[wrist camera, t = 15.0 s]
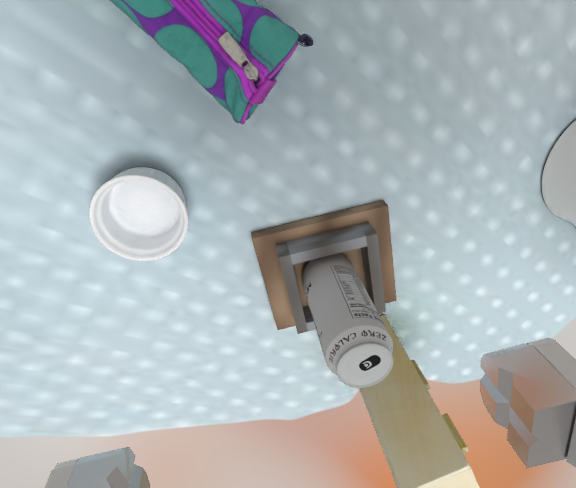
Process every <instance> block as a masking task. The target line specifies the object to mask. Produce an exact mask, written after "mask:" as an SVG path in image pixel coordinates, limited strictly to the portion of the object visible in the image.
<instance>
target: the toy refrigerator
mask: <svg viewBox="0 0 576 488" xmlns="http://www.w3.org/2000/svg"><path fill="white" fill-rule="evenodd" d="M380 317H381V319H382V321H383V323H384V325H385V327H386V329H387V331H388V332H389V334H390V336H391V338H392V341H393V352H392V356H393V366H392V369H391V371H390V373H389V374H388V375H387V376H386V377H385V378H384V379H383V380H381V381H380V382H378V383H376V384H374V385H372V386H369V387H363V388H359V389H360V392H361V394H362V397H363V399H364V402H365V405H366V407H367V410H368V412H369V415H370V417H371V420H372V423H373V425H374V428H375V431H376V434H377V436H378V438H379V441H380V444H381V446H382V449H383V452H384V454H385V457H386V460H387V462H388V465H389V467H390V470H391V473H392V475H393V478H394V481H395V483H396V486H397V488H479V485H478V483H477V481H476V478H475V476H474V474H473V471H472V469H471V467H470V465H469V463H468V461H467V460H466V457H465V456H464V453H466V452H468V448H467V446H466V445H465V443H464V441H463V439H462V438H461V436H460V434H459V433H458V431H457V429H456V427H455V426H454V424H453V422H452V420H451V419H450V417H449V415H448V414H447V413H446V414H444V415H441V413H440V411H439V410H438V408H437V406H436V404H435V403H434V401H433V399H432V397H431V395H430V394H429V392H428V391H427V390H428V389H430V386H429V384H428V382H427V380H426V379H425V377H424V375H423V374H422V372H421V370H420V369H419V367H418V365H417V364H416V362H415V360H411V361H410V359H409V357H408V355H407V353H406V352H405V350H404V348H403V346H402V345H401V343H400V341H399V339H398V337H397V336H396V334H395V332H394V330H393V329H392V327H391V325H390V323H389V321H388V320H387V318H386V316H385V315H382V316H380Z"/></svg>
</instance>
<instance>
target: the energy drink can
mask: <svg viewBox="0 0 576 488" xmlns="http://www.w3.org/2000/svg"><path fill="white" fill-rule="evenodd" d="M302 283H303V287H304V290H305V294H306V297H307V300H308V304H309V307H310V310H311V314H312V317H313V320H314V324H315V327H316V331H317V334H318V337H319V341H320V344H321V347H322V351H323V354H324V357H325V361H326V364H327V366H328V367H329V369H330V370H331V371H332V372H333V373H335V374H336V375H338V378H339V379H340V381H341V382H343V383H344V384H346V385H347V386H350V387H355V388H363V387H369V386H372V385H374V384H376V383H378V382H380V381H381V380H383V379H384V378H385V377H386V376H387V375H388V374H389V373H390V371H391V369H392V366H393V356H392V352H393V341H392V338H391V336H390V334H389V332H388V331H387V329H386V327H385V325H384V323H383V321H382V319H381V317H380V315H379V314H378V312H377V310H376V308H375V306H374V304H373V302H372V300H371V299H370V297H369V295H368V293H367V291H366V289H365V287H364V285H363V283H362V282H361V280H360V278H359V276H358V274H357V272H356V270H355V268H354V266H353V265H352V263H351V261H350V260H349V259H348V258H347V257H345V256H344V255H341V254H333V255H329V256H325V257H321V258H317V259H313V260H310V261H309V263H308V264H307V265H306V266H305V268H304V270H303V273H302Z"/></svg>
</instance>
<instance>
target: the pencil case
mask: <svg viewBox="0 0 576 488" xmlns="http://www.w3.org/2000/svg"><path fill="white" fill-rule="evenodd" d="M110 1H112V2H113V3H114V4H115V5H116V6H117V7H118V8H120V9H121V10H122V11H123V12H124V13H125V14H127V15H128V16H129V17H130V18H131V19H132V20H133V21H134V22H135V23H136V24H137V25H138V26H139V27H140V28H141V29H142V30H144V31H145V32H146V33H147V34H148V35H150V36H151V37H152V38H153V39H154V40H155V41H156V42H157V43H158V44H159V45H160V46H161V47H162V48H163V49H164V50H166V51H167V52H168V53H169V54H170V55H171V56H172V57H174V58H175V59H176V60H177V61H179V62H181V63H182V64H183V65H184V66H185V67H186V68H187V69H188V71H189V72H190V73H191V74H192V76H193V77H194V78H195V79H196V80H197V81H198V82H199V83H200V84H201V85H202V86H203V87H204V88H205V89H206V90H207V91H208V92H209V93H210V94H211V95H212V96H214V98H215V99H216V100H217V101H218V102H219V103H220V104H221V105H222V106H223V107H224V108H225V109H227V110H228V111H229V112H230V113H231V115H232V117H233V119H234V121H235V122H236V123H241V124H244V123H245V120H247V119H248V118H250V116H251V115H252V113H253V112H254V110H255V109H256V107H257V106H258V104H261V103H263V101H264V100H265V98H266V97H267V95H268V93H269V92H270V90H271V89H272V87H273V86H274V85H275V83H276V80H275V79H276V77H277V75H278V74H279V72H280V70H281V69H282V67H283V66H284V64H285V63H286V62H287V60H288V59H289V58H290V56H291V55H292V54H293V52H294V51H295V49H296V47H297V45H298V44H300V45H301V46H304V47H305V46H312V45H313V39H312V38H311V37H310V36H309V35H307V34H303V35H299V33H298V32H297V31H296V30H294V29H293V28H292V27H290V26H288V25H286V24H284V23H283V22H282V21H281V20H280V19H279V18H278V17H277V16H276V15H274V14H273V13H272V12H270V11H269V10H268V9H266V8H264V7H263V6H260V5H258V4H257V3H256V0H110ZM302 42H304V43H305V44H303V43H302Z"/></svg>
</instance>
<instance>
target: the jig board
mask: <svg viewBox="0 0 576 488" xmlns="http://www.w3.org/2000/svg"><path fill="white" fill-rule="evenodd" d="M251 234H252V240H253V244H254V247H255V251H256V254H257V258H258V262H259V265H260V269H261V272H262V276H263V279H264V283H265V286H266V290H267V294H268V297H269V301H270V304H271V308H272V311H273V315H274V318H275V322H276V326H277V329H278V330H280V329H284V328H288V327H292V326H296V328H297V332H298V334H299V333H303V332H307V331H311V330H315V329H316V327H315V324H314V320H313V317H312V314H311V310H310V307H309V304H308V300H307V297H306V294H305V290H304V287H303V283H302V273H303V270H304V268H305V266H306V265H307V264H308V263H309V261H310V260H313V259H317V258H321V257H325V256H329V255H333V254H341V255H344V256H345V257H347V258H348V259H349V260H350V261H351V263H352V265H353V266H354V268H355V270H356V272H357V274H358V276H359V278H360V280H361V282H362V283H363V285H364V287H365V289H366V291H367V293H368V295H369V297H370V299H371V300H372V302H373V304H374V306H375V308H376V310H377V312H378V314H379V313H383V312H386V309H385V303H388V302H392V301H396V291H395V280H394V268H393V257H392V246H391V235H390V224H389V213H388V205H387V204H386V203H385V202H384V201H383V200H382V201H378V202H374V203H370V204H366V205H362V206H358V207H354V208H350V209H346V210H342V211H337V212H333V213H329V214H325V215H321V216H317V217H313V218H309V219H305V220H301V221H297V222H292V223H288V224H284V225H280V226H276V227H272V228H268V229H264V230H260V231H256V232H252V233H251Z"/></svg>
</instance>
